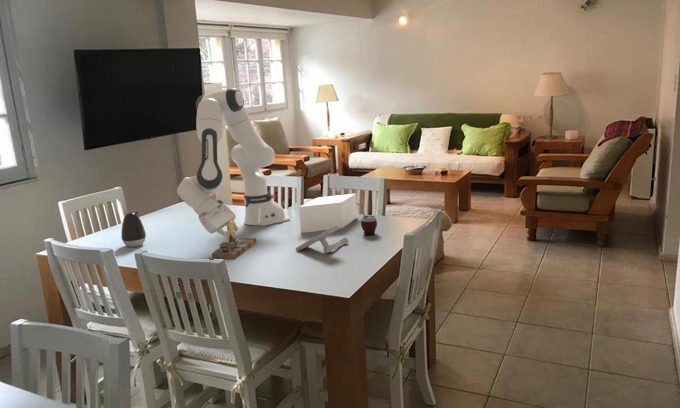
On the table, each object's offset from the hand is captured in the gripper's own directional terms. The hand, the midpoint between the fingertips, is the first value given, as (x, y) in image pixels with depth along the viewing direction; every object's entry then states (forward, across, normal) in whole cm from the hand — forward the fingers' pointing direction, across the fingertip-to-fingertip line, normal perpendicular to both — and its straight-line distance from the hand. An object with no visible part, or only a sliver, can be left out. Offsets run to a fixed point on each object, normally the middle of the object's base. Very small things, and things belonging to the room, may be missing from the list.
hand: (232, 233), depth 235 cm
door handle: (+32, +8, -20) cm, 39 cm away
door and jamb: (+5, +1, +6) cm, 8 cm away
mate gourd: (+42, +28, -30) cm, 59 cm away
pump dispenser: (-30, +5, +41) cm, 51 cm away
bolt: (+3, -2, +4) cm, 6 cm away
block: (+27, +44, -15) cm, 53 cm away
